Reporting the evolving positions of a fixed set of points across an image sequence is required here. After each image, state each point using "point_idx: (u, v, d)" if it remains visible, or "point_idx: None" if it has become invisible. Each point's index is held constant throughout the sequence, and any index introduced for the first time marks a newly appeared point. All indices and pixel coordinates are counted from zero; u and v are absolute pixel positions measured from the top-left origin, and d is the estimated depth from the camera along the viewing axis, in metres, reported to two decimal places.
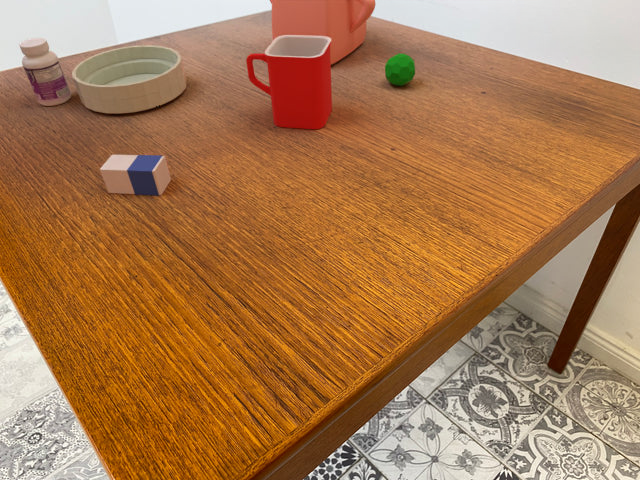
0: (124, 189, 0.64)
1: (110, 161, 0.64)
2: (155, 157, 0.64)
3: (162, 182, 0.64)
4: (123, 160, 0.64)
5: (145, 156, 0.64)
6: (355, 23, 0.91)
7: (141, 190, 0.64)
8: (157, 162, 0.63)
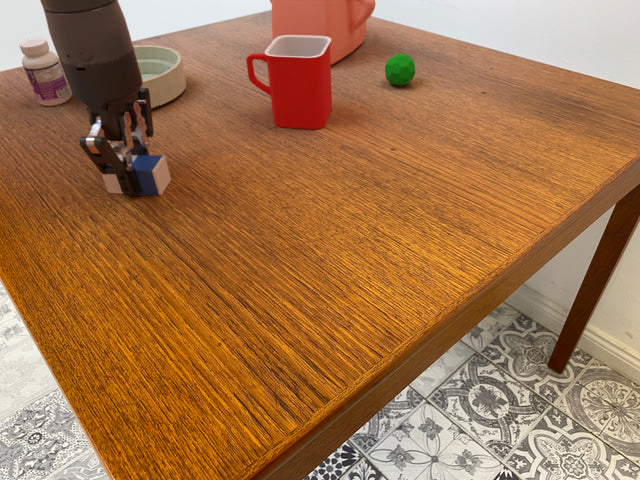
0: None
1: None
2: (155, 156, 0.64)
3: (162, 182, 0.64)
4: None
5: (145, 156, 0.64)
6: (355, 23, 0.91)
7: None
8: (157, 162, 0.63)
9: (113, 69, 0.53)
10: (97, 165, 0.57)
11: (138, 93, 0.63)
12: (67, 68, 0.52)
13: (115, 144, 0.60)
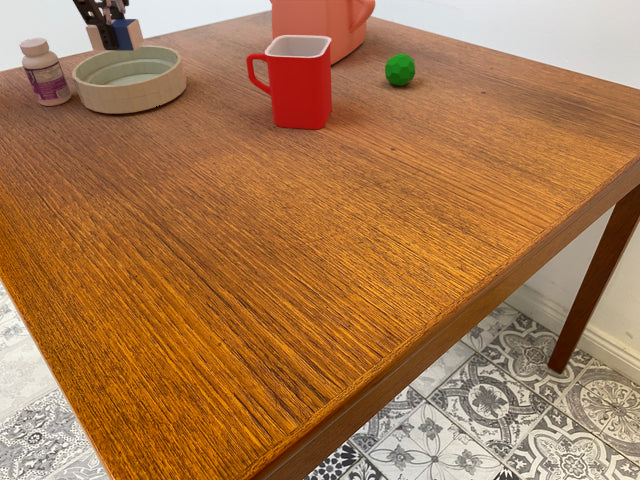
0: None
1: None
2: (130, 19, 0.80)
3: (136, 40, 0.79)
4: None
5: (122, 19, 0.80)
6: (355, 23, 0.91)
7: (119, 46, 0.79)
8: (131, 22, 0.79)
9: None
10: (82, 14, 0.73)
11: None
12: None
13: (97, 2, 0.75)
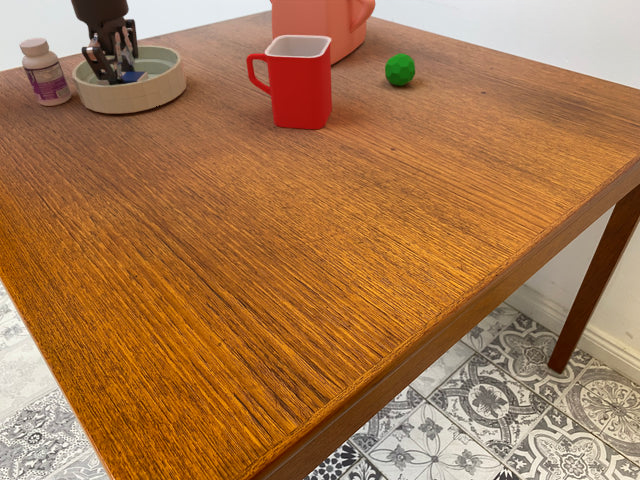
0: None
1: None
2: (139, 72, 0.84)
3: None
4: None
5: (132, 72, 0.84)
6: (355, 23, 0.91)
7: None
8: (141, 75, 0.82)
9: None
10: (95, 71, 0.77)
11: (126, 23, 0.82)
12: None
13: (108, 58, 0.79)
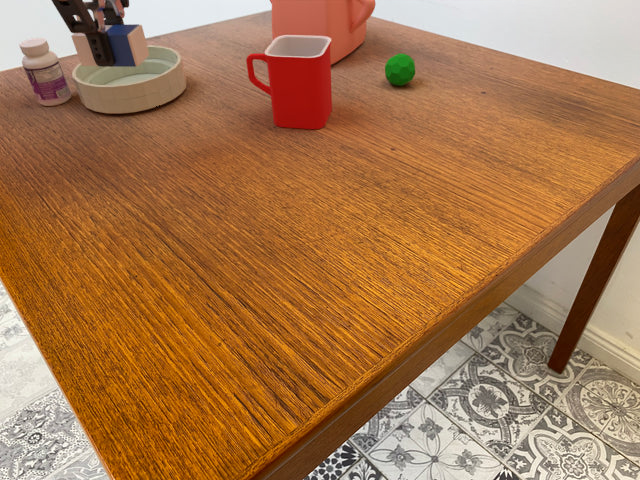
0: None
1: None
2: (131, 25, 0.60)
3: (139, 52, 0.60)
4: None
5: (121, 25, 0.60)
6: (355, 23, 0.91)
7: (116, 60, 0.59)
8: (133, 29, 0.59)
9: None
10: (65, 18, 0.53)
11: None
12: None
13: (85, 2, 0.55)
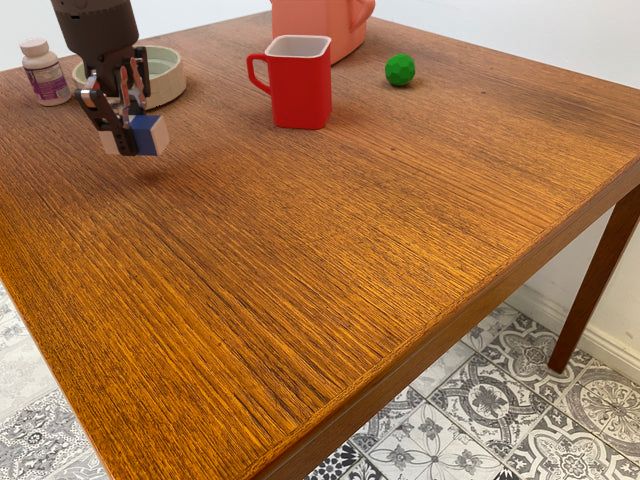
0: None
1: None
2: (153, 116, 0.63)
3: (161, 142, 0.63)
4: None
5: (143, 116, 0.63)
6: (355, 23, 0.91)
7: (139, 150, 0.62)
8: (155, 121, 0.62)
9: (108, 18, 0.52)
10: (93, 121, 0.56)
11: (135, 51, 0.62)
12: (62, 16, 0.51)
13: (112, 101, 0.58)
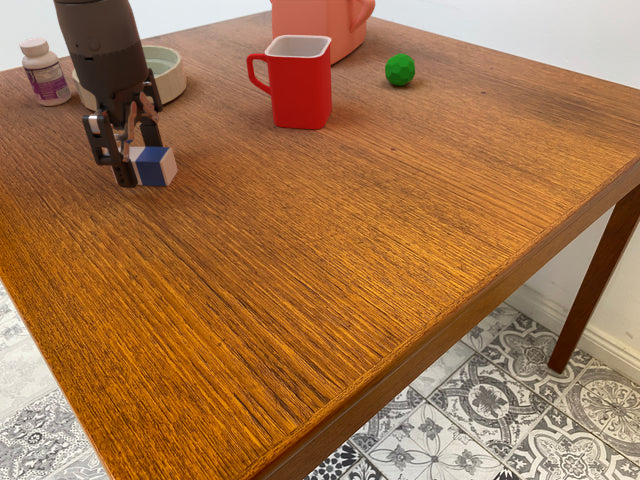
0: None
1: None
2: (162, 148, 0.66)
3: (169, 173, 0.65)
4: (131, 152, 0.65)
5: (152, 148, 0.66)
6: (355, 23, 0.91)
7: (149, 181, 0.65)
8: (164, 153, 0.65)
9: (120, 59, 0.54)
10: (94, 150, 0.57)
11: None
12: (76, 57, 0.54)
13: None
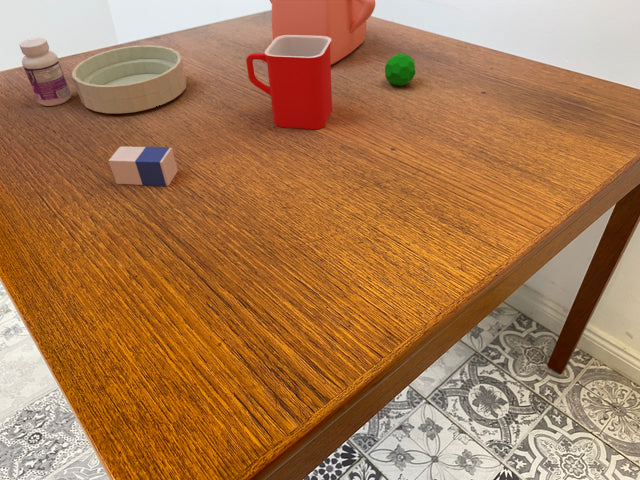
0: (132, 180, 0.65)
1: (118, 153, 0.65)
2: (162, 148, 0.66)
3: (169, 173, 0.65)
4: (131, 152, 0.65)
5: (152, 148, 0.66)
6: (355, 23, 0.91)
7: (149, 181, 0.65)
8: (164, 153, 0.65)
9: None
10: None
11: None
12: None
13: None
